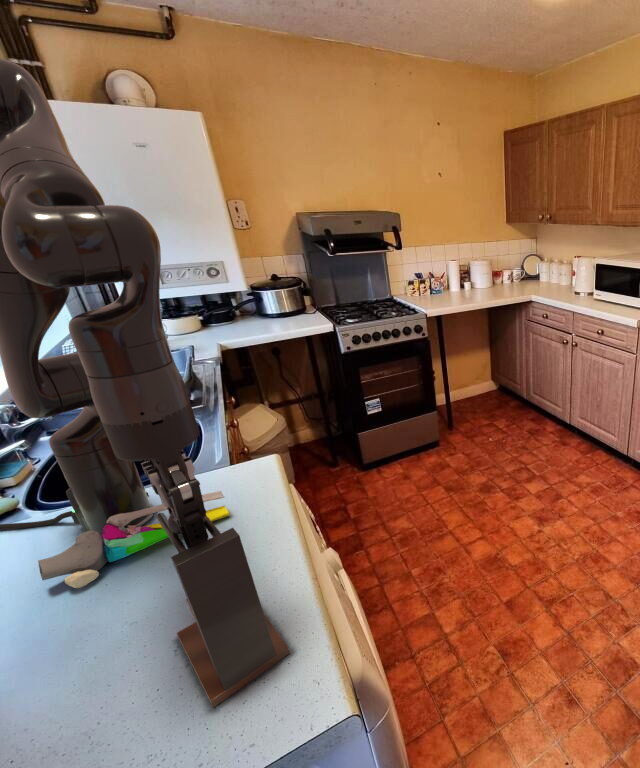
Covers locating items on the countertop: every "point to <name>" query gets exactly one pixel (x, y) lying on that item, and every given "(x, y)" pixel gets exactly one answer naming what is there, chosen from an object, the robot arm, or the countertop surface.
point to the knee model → (111, 544)
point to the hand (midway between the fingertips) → (192, 535)
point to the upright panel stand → (223, 614)
